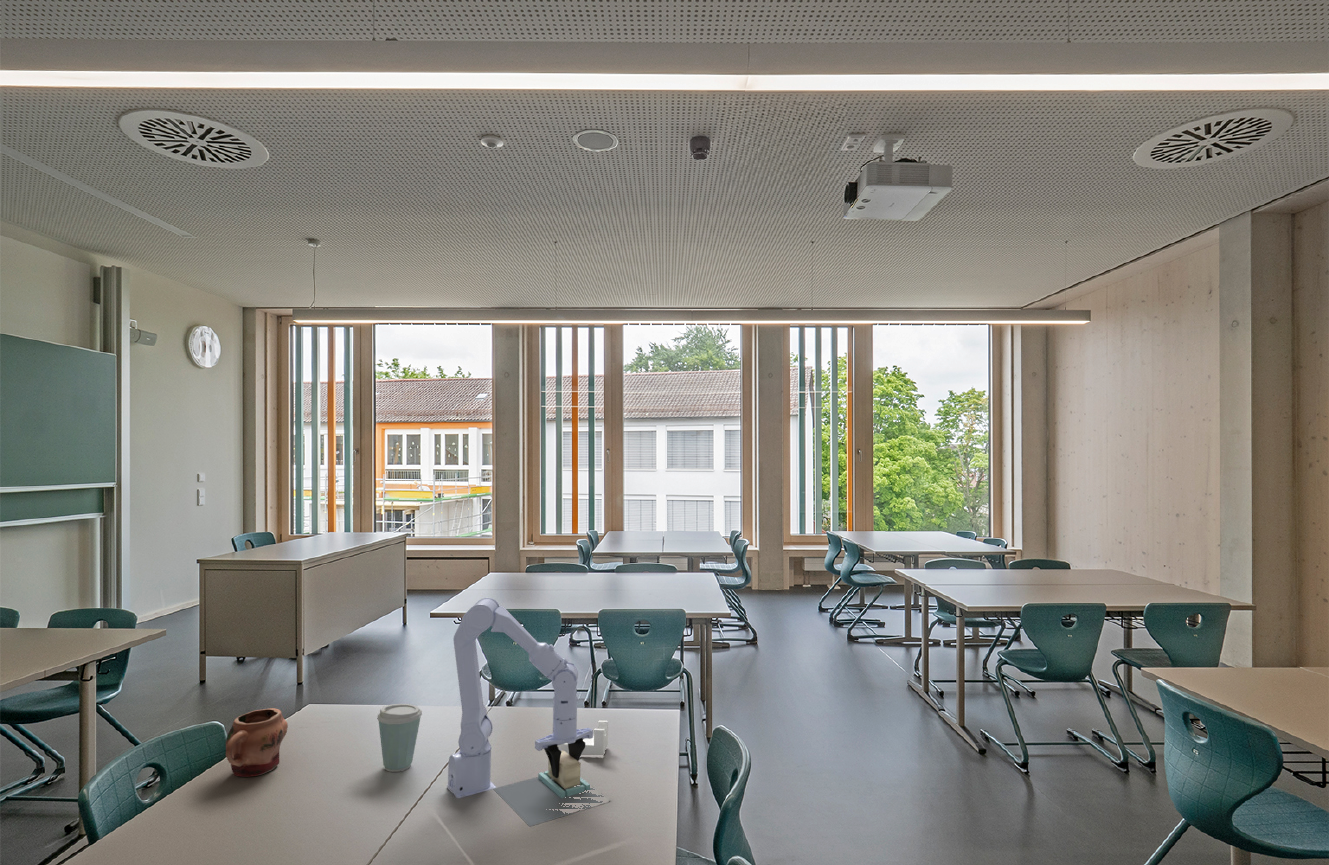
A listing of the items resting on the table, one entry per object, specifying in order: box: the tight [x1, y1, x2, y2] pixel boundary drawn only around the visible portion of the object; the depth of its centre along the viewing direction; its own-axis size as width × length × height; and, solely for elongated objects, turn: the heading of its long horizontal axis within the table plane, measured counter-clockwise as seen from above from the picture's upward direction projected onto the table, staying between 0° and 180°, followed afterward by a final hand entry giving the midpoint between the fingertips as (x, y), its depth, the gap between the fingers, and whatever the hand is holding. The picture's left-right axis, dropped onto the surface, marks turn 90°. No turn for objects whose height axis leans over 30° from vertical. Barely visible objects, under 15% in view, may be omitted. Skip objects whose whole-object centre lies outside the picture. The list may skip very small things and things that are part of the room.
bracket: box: [557, 719, 609, 755], centre depth 188 cm, size 13×7×8 cm, turn 85°
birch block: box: [547, 750, 581, 789], centre depth 167 cm, size 9×4×5 cm, turn 35°
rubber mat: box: [493, 776, 605, 828], centre depth 161 cm, size 20×21×1 cm
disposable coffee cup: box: [377, 703, 423, 773], centre depth 177 cm, size 11×11×15 cm
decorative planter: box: [225, 707, 289, 778], centre depth 173 cm, size 20×12×14 cm, turn 2°
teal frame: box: [537, 770, 591, 798], centre depth 167 cm, size 8×12×1 cm, turn 35°
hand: (563, 774), depth 167 cm, fingers closed on birch block, 4 cm apart
